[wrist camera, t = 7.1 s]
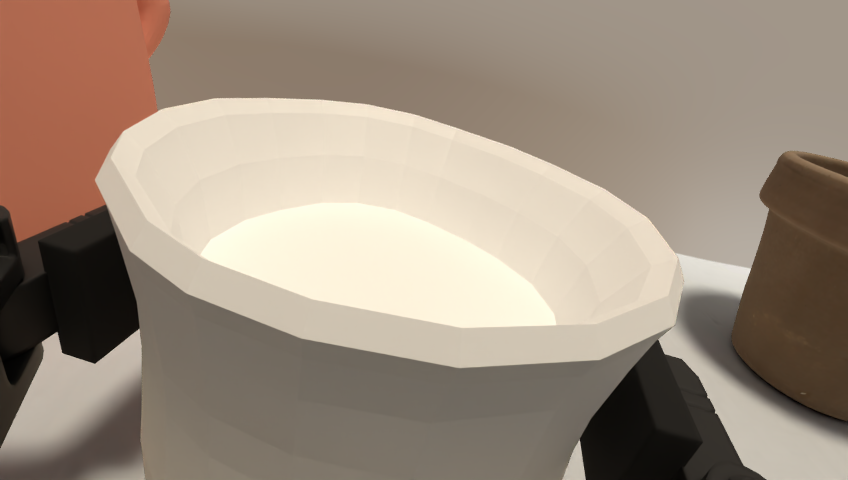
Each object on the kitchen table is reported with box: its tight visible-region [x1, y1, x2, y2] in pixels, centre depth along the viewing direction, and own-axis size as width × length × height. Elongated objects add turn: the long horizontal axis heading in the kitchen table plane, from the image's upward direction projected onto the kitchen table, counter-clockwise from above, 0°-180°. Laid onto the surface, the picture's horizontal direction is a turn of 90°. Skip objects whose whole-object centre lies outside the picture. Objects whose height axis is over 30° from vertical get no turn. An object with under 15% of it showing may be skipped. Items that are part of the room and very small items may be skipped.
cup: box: [95, 98, 684, 480], centre depth 11 cm, size 10×10×10 cm
